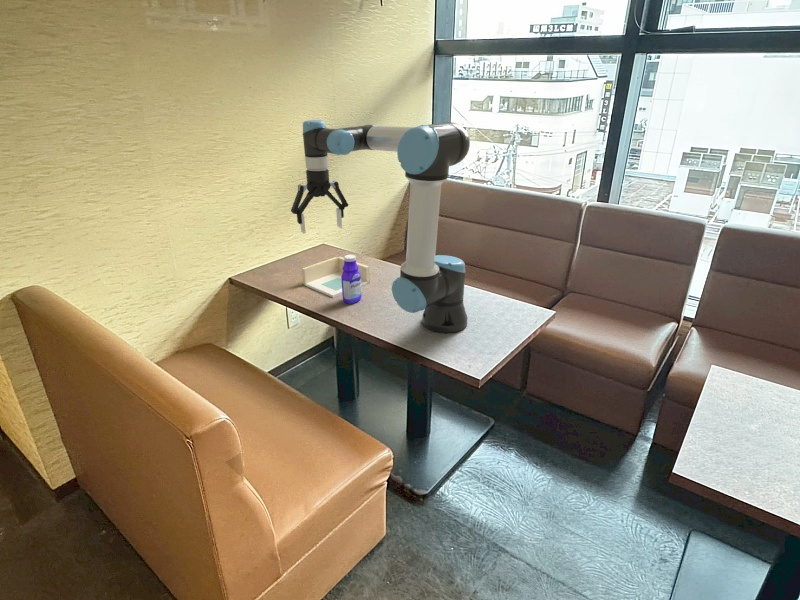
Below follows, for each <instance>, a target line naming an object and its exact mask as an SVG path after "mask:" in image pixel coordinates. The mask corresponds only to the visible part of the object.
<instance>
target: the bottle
mask: <svg viewBox="0 0 800 600" xmlns="http://www.w3.org/2000/svg"><path fill="white" fill-rule="evenodd" d="M343 258H344V266H343V268H342V269H343V273H342V276H341V280H342V300H343V302H344V303H346V304H351V305H353V304H355V303H357V302H359V301H360V300H362V295H363V294H362V286H361V275H360V272H359V271H358V268H359V267H358V266H357V263H356V262H357V259H356V255H355V254H347V255H344V256H343Z"/></svg>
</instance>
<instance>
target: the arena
mask: <svg viewBox="0 0 800 600" xmlns="http://www.w3.org/2000/svg"><path fill="white" fill-rule="evenodd" d="M356 263H357V266H358V267H359V268H358V271H359V272H360V275H361V287H363V286H365V285H368V284H370V266H368V265H366V264H364V263H363V264H362V263H360V262H357V261H356ZM343 266H344V256H343V257H342V256H340V255H337V256H334V257H331V258H329V259H326V260H323V261H319V262H317V263H314V264H310V265H308V266H306V267H303V268H301V272H302V274H301V275H302V283H303V286H305V287H307V288H310V289H312V290H314V291H316V292H319V293H322V294H323V295H326V296H328V297H330V298H332V299H333V298H336V297H339V296H341V295H342V280H341V276H342V273H343V269H342V268H343ZM342 296H343V295H342Z"/></svg>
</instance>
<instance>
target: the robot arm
mask: <svg viewBox="0 0 800 600" xmlns="http://www.w3.org/2000/svg"><path fill="white" fill-rule="evenodd" d="M302 138H303V149H304V159H305V160H304V161H305V168H306V170H305V174H306V185H304V184H303V185H302V184H301V183H300V184H298V185H297V193H296V196H295V198H294V201H293V203H292V206H291V208H290V212H291V213H292V214H294V215H296V219H297V220H296V221H297V223H298V224H299V225H300V232H301V233H302V234H306V223H305V214H304V211H305V209H306V208H307V207H308V205H309V204H310V202H311V201H312V200H313V199H314V198H319V197H325V196H327V197H328V198H329V200H330V201H332V203H334V204H335V205H336V206H337V208H336V225H337V227H338V228H340V229H341V228H343V223H342V221H343V220H342V219H343V218H344V210H345V208H347V207H349V203H348V202H347V200H346V198H345V195H344V194H343V192H342V191H341V189H340V184H339V182H338V181H336V180H333V181H330V172H329V171H330V170H329V169H328V168H329V159H328V154H331V155H332V154H333V155H336V156H346V155H350V153H352V152H355V151H365V150H367V151H368V150H369V151H383V152H393V153H394V152H395V153H396V152H397V153H396V154H397V161H398V162H399V163H400V167H401V169H402V170H403V171H404V173H405V174H404V176H405V178H406V179H407V180H408V181H409V201H408V216H407V217H408V221H407V236H406V254H405V255H406V256H405V261H404V262H403V263H401V265H400V271H399V273H400V274H399V275H400V276H399V277H396V279H395V280H394V281H393V282H392V284H391V293H392V297H393V298H394V300H395V302H396V303H397V305H398V306H399V308H401V310H403V311H405V312H407V313H410V314H415V313H419V312H421V311H423V313H422V316H421V317H422V318H421V321H422V322H421V323H422V325H423V327H425V328H426V329H427V330H429V331H431V332H435V333H443V334H453V333H457V332H461V331H462V330H464V329H466V327H467V326H468V315H467V311H466V307H465V304H464V293H465V278H466V273H467V272H466V263H465V262H464V260H463V259H461V258H459V257H456V256H451V255H445V254H443V255H442V254H438V255H436V253H437V241H438V231H439V230H438V228H439V227H438V226H439V217H440V206H441V205H440V203H441V194H442V193H441V192H442V184H444V183H445V182H446V181H447V180H448V177H449V176H448V175H449V174H448V173H449V167H453V166H455V165H457V164H459V163H461V162H462V161H463V160H464V159H465V158H466V156H467V155H468V153H469V151H470V145H471V143H470V136H469V133H468V132H467V130H466V129H465V128H464V127H463V126H462V125H460V124H458V123H456V122H440V123H431V124H420V125H417V126H415V127H413V126H387V125H386V126H385V125H382V126H381V125H376V124H365V125H358V126H349V127H340V128H327V125H326V121H325V120H322V119H311V120H305V121H303V123H302ZM330 188H332V189H334V190H333V191H335V194H336V196H338V198H339V200H340V202H339V200H338V199H337V198H336V197H335V196H334V195H333V194H332V193H331V192H330V191H329V190H330ZM306 190H307V193H306V196H305V197H304V199H303V196H304V192H306ZM302 199H303V200H302Z"/></svg>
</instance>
